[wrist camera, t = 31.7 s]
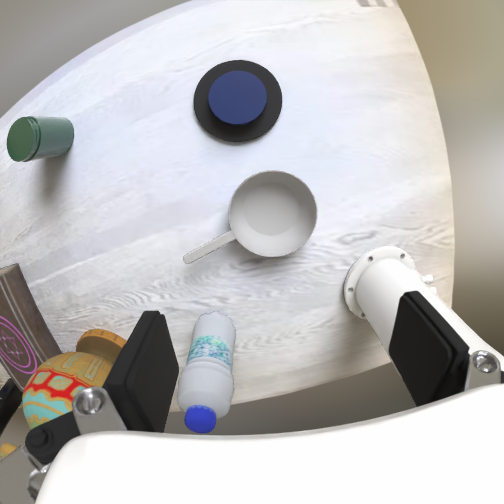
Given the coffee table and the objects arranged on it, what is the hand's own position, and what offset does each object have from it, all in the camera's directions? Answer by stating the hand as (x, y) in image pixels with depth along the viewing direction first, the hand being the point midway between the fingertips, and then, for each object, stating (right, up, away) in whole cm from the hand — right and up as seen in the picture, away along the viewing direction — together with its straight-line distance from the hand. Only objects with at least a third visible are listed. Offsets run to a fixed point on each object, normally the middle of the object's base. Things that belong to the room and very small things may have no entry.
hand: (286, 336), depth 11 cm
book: (-53, -15, +36) cm, 65 cm away
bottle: (-7, -8, +34) cm, 35 cm away
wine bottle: (-69, -35, +44) cm, 89 cm away
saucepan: (-2, +7, +28) cm, 29 cm away
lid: (-3, +21, +20) cm, 29 cm away
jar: (-30, +20, +22) cm, 43 cm away
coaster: (-3, +22, +22) cm, 31 cm away
